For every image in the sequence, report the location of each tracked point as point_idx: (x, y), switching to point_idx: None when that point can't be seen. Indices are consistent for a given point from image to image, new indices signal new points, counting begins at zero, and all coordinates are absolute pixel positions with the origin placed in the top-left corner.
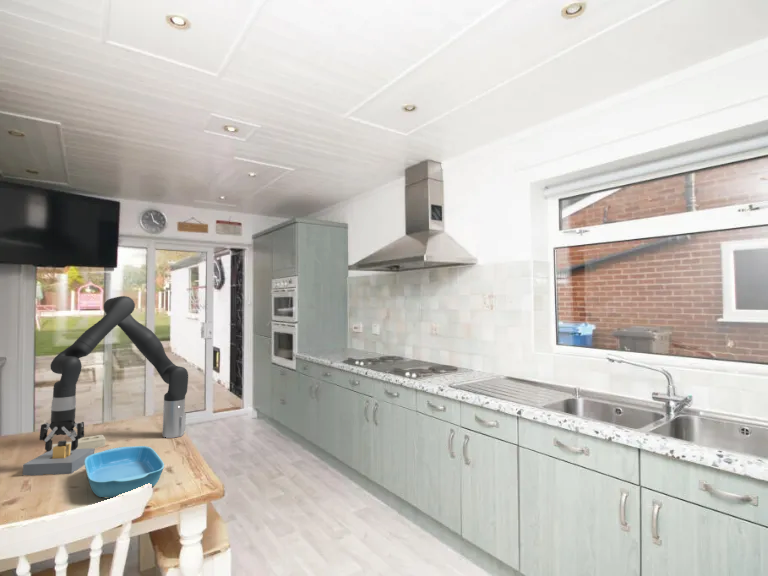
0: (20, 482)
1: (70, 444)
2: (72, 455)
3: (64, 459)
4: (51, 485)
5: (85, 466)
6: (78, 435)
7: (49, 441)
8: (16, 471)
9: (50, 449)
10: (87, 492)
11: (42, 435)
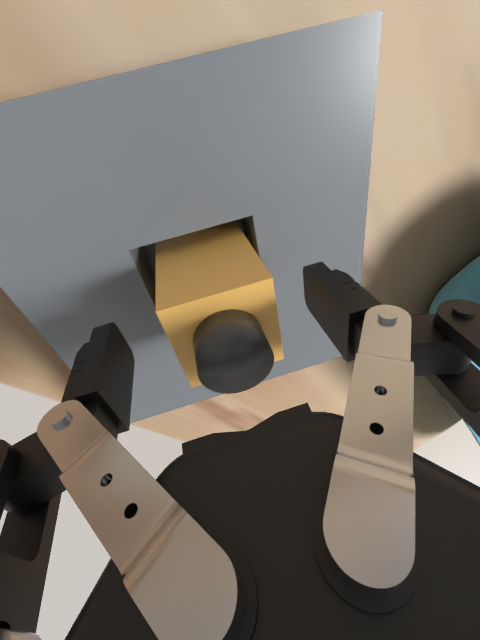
0: (190, 412)
1: (269, 277)
2: (286, 261)
3: (284, 329)
4: (319, 398)
5: (471, 430)
6: (454, 390)
7: (118, 421)
8: (11, 353)
9: (120, 339)
10: (439, 397)
11: (43, 541)
